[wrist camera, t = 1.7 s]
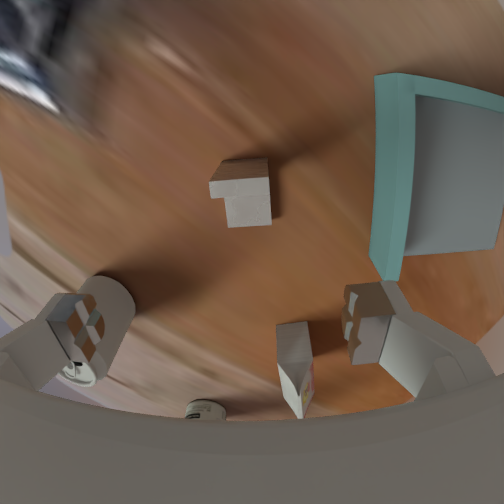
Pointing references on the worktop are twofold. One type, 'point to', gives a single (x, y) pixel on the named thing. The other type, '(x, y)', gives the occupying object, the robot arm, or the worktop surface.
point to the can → (116, 325)
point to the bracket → (243, 191)
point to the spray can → (205, 410)
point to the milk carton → (295, 365)
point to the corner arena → (434, 169)
